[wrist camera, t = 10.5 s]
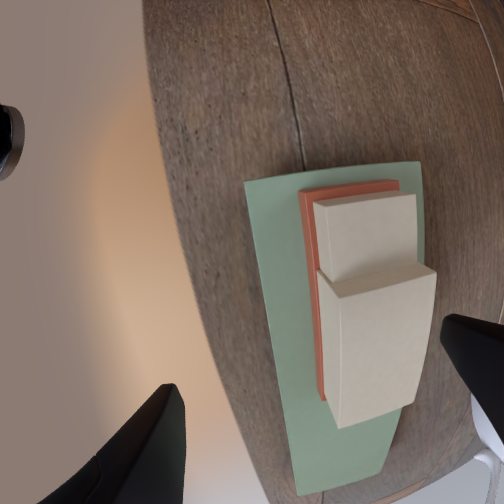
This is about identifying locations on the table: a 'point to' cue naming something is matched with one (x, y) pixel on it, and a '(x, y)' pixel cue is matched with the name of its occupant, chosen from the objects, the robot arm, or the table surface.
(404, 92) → the table surface
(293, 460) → the flat pale green board
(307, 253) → the stepped block on base
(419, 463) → the table surface
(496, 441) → the pitcher
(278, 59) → the table surface
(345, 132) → the table surface
